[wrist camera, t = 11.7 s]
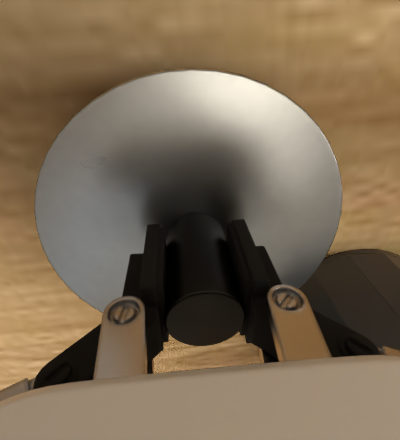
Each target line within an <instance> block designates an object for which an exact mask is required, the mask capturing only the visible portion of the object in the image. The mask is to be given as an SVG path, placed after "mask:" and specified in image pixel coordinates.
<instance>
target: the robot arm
mask: <svg viewBox="0 0 400 440" xmlns="http://www.w3.org/2000/svg"><path fill="white" fill-rule="evenodd" d="M226 243H227V247H228V250H229V254H230V257H231V261H232V264H233V268H234V272H235V275H236V279H237V282H238V286H239V289H240V293H241V296H242V300H243V303H244V307H245V311H246V317H245V322H244V324H243V326H242V328H241V329H240V330H239V332H240V335H245V338H246V342H247V343H253V344H254V345H256V346H257V347H259V354H260V359H261V364H250V365H239V366H228V367H218V368H207V369H196V370H185V371H175V372H165V373H155V374H154V361H153V358H154V357H155V356H157V355H158V354H159V353H160V352H161V351H163V342H168V339H169V333H168V331H167V329H166V327H165V323H164V315H165V284H166V238H165V228H164V227H160V224H148V225H147V229H146V237H145V244H144V252H143V253H140V254H131V255H130V258H129V264H128V269H127V274H126V279H125V284H124V289H123V294H122V297H119V298H117V299H115V300H113V301H112V302H110V303H109V304H108V305H107V306H106V308H105V309H104V312H103V316H102V323H101V324H100V325H98V326H97V327H96V328H94V329H93V330H92V331H90V332H89V333H88V334H86V335H85V336H84V337H82V338H81V339H80V340H78V341H77V342H76V343H74V344H73V345H72V346H70V347H69V348H68V349H66V350H65V351H64V352H62V353H61V354H60V355H58V356H57V357H55V358H54V359H53V360H51V361H50V362H49V363H48V364H46V365H45V366H44V367H43V368H42V369H41V371H40V372H39V373H38V375H37V376H36V378H33V379H31V380H28V379H27V378H26V379H24V380H22V381H19V382H17V383H15V384H13V385H11V386H9V387H7V388H5V389H3V390H1V391H0V440H400V351H399V350H396V349H392V348H389V347H386V346H382V348H377V347H376V345H375V344H374V343H373V342H372V341H371V340H369V339H368V338H366V337H365V336H363V335H361V334H359V333H357V332H355V331H353V330H352V329H350V328H348V327H346V326H344V325H342V324H340V323H338V322H336V321H334V320H332V319H330V318H328V317H326V316H324V315H322V314H320V313H318V312H316V311H314V310H313V309H311V306H310V304H309V302H308V299H307V297H306V296H305V294H304V293H303V292H302V291H301V290H299V289H297V288H296V287H293V286H290V285H283V284H282V283H281V281H280V279H279V276H278V274H277V272H276V270H275V268H274V266H273V264H272V261H271V259H270V257H269V255H268V253H267V251H266V249H265V247H264V246H255V243H254V241H253V238H252V236H251V234H250V231H249V229H248V227H247V224H246V222H245V220H244V219H235V220H232V221H231V223H228V224H227V240H226Z"/></svg>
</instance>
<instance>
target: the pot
mask: <svg viewBox="0 0 400 440" xmlns="http://www.w3.org/2000/svg"><path fill="white" fill-rule="evenodd" d="M299 290H301V291H302V292H303V293H304V294H305V296H306V297H307V299H308V302H309V304H310V306H311V309H313V310H314V311H316V312H318V313H320V314H322V315H324V316H326V317H328V318H330V319H332V320H334V321H336V322H338V323H340V324H342V325H344V326H346V327H348V328H350V329H352V330H353V331H355V332H357V333H359V334H361V335H363V336H365V337H366V338H368V339H369V340H371V341H372V342H373V343H374V344H375V345H376V347H377V348H382V346H386V347H389V348H392V349H396V350H399V351H400V256H398V255H396V254H393V253H390V252H386V251H381V250H355V251H348V252H343V253H339V254H335V255H332V256H329V257H326V258H324V259H323V261H322V262H321V264H320V265H319V267H318V268H317V270H316V271H315V272H314V273H313V274H312V276H311V277H310V278H309V279H308V280H307V281H306V283H304V284H303V285H302V286H301V287H300V288H299Z"/></svg>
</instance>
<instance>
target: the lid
mask: <svg viewBox="0 0 400 440" xmlns="http://www.w3.org/2000/svg"><path fill="white" fill-rule="evenodd" d="M341 208H342V185H341V176H340V172H339V168H338V164H337V160H336V157H335V155H334V153H333V150H332V148H331V146H330V143H329V141H328V140H327V138H326V137H325V135H324V134H323V132H322V130H321V129H320V127H319V126H318V124H317V123H316V122H315V121H314V120H313V119H312V118H311V117H310V116H309V115H308V113H307V112H306V111H305V110H304V109H303V108H301V107H300V106H299V105H298V104H296V103H295V102H294V101H293V100H291V99H290V98H289V97H288V96H286V95H285V94H283V93H281V92H279V91H278V90H276V89H274V88H272V87H270V86H269V85H267V84H265V83H262V82H260V81H257V80H254V79H252V78H249V77H246V76H244V75H241V74H237V73H232V72H228V71H223V70H218V69H207V68H180V69H169V70H162V71H158V72H154V73H150V74H146V75H142V76H138V77H136V78H134V79H131V80H129V81H126V82H124V83H121V84H119V85H117V86H115V87H113V88H111V89H110V90H108V91H106V92H105V93H103V94H102V95H100V96H98V97H97V98H95V99H93V100H92V101H91V102H90V103H88V104H87V105H86V106H85V107H84V108H83V109H81V110H80V111H79V112H78V113H77V114H75V115H74V116H73V117H72V118H71V120H70V121H69V122H68V123H67V124H66V125H65V127H64V128H63V129H62V130H61V131H60V132H59V134H58V135H57V137H56V138H55V140H54V142H53V143H52V145H51V147H50V148H49V150H48V152H47V154H46V156H45V159H44V161H43V164H42V166H41V169H40V171H39V176H38V180H37V185H36V190H35V210H34V211H35V219H36V226H37V231H38V235H39V238H40V242H41V245H42V247H43V250H44V252H45V254H46V256H47V258H48V260H49V262H50V264H51V265H52V267H53V268H54V270H55V271H56V273H57V274H58V276H59V277H60V278H61V279H62V280H63V282H64V283H65V284H66V285H67V286H68V287H69V288H70V289H71V290H72V291H73V292H74V293H75V294H76V295H77V296H79V297H80V298H81V299H82V300H84V301H85V302H86V303H88V304H89V305H91V306H92V307H93V308H95V309H97V310H99V311H100V312H102V313H103V312H104V309H105V308H106V306H107V305H108V304H109V303H110V302H112V301H113V300H115V299H117V298H119V297H122V294H123V289H124V284H125V279H126V274H127V269H128V264H129V258H130V255H131V254H140V253H143V252H144V244H145V237H146V229H147V225H148V224H160V227H164V228H165V238H166V284H165V315H164V323H165V327H166V329H167V331H168V333H169V334H170V335H171V336H172V337H173V338H174V339H176V340H178V341H179V342H182V343H185V344H188V345H194V346H207V345H213V344H217V343H221V342H223V341H225V340H227V339H229V338H231V337H232V336H234V335H235V334H236V333H237V332H238V331H239V330H240V329H241V328H242V326H243V324H244V322H245V317H246V311H245V307H244V303H243V300H242V296H241V293H240V289H239V286H238V282H237V279H236V275H235V272H234V268H233V264H232V261H231V257H230V254H229V250H228V247H227V243H226V240H227V224H228V223H231V221H232V220H235V219H244V220H245V222H246V224H247V227H248V229H249V231H250V234H251V236H252V238H253V241H254V243H255V246H264V247H265V249H266V251H267V253H268V255H269V257H270V259H271V261H272V264H273V266H274V268H275V270H276V272H277V274H278V276H279V279H280V281H281V283H282V284H283V285H290V286H293V287H296V288H297V289H299V288H300V287H301V286H302V285H303V284H304V283H306V281H307V280H308V279H309V278H310V277H311V276H312V274H313V273H314V272H315V271H316V270H317V268H318V267H319V265H320V264H321V262H322V261H323V259H324V258H325V256H326V254H327V252H328V250H329V249H330V247H331V245H332V242H333V240H334V237H335V234H336V232H337V229H338V225H339V220H340V215H341Z"/></svg>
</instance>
